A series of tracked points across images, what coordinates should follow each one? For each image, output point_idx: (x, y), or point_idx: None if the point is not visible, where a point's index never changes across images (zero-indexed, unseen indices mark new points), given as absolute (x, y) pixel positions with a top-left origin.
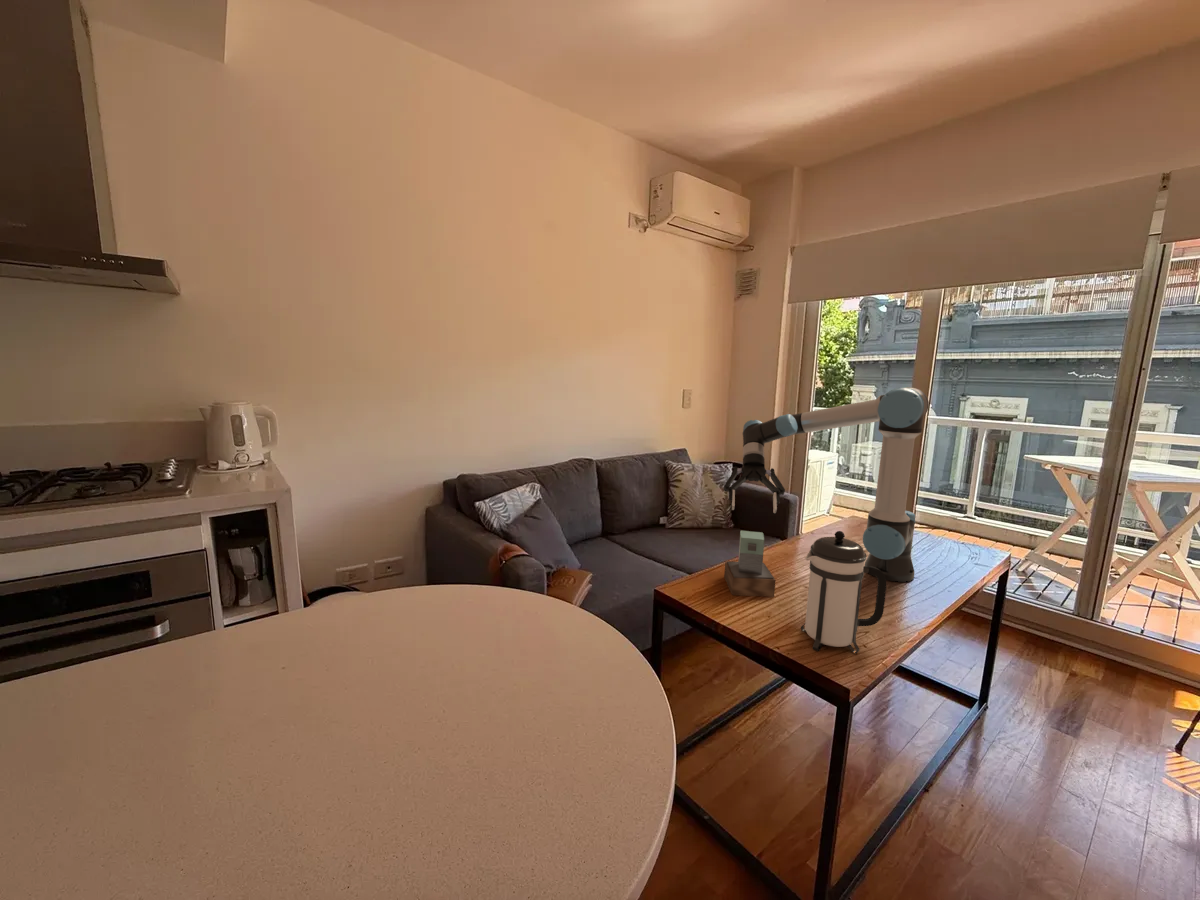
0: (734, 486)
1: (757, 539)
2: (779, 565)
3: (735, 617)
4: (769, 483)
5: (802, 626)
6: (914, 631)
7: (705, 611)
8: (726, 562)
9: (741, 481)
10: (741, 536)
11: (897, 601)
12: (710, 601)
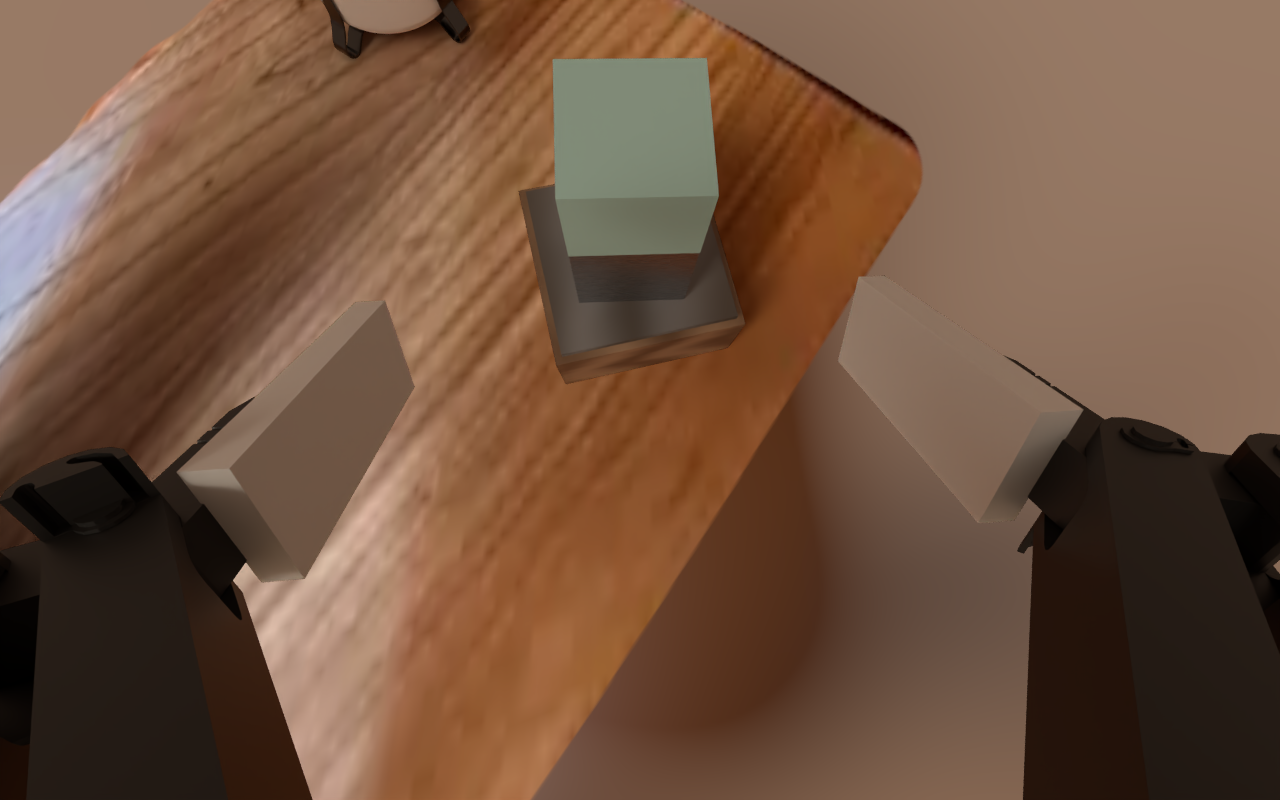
0: (1124, 475)
1: (597, 61)
2: (478, 581)
3: (665, 57)
4: (148, 731)
5: (463, 29)
6: (99, 120)
7: (759, 68)
8: (739, 319)
9: (1110, 690)
10: (704, 77)
11: (42, 336)
12: (753, 135)
